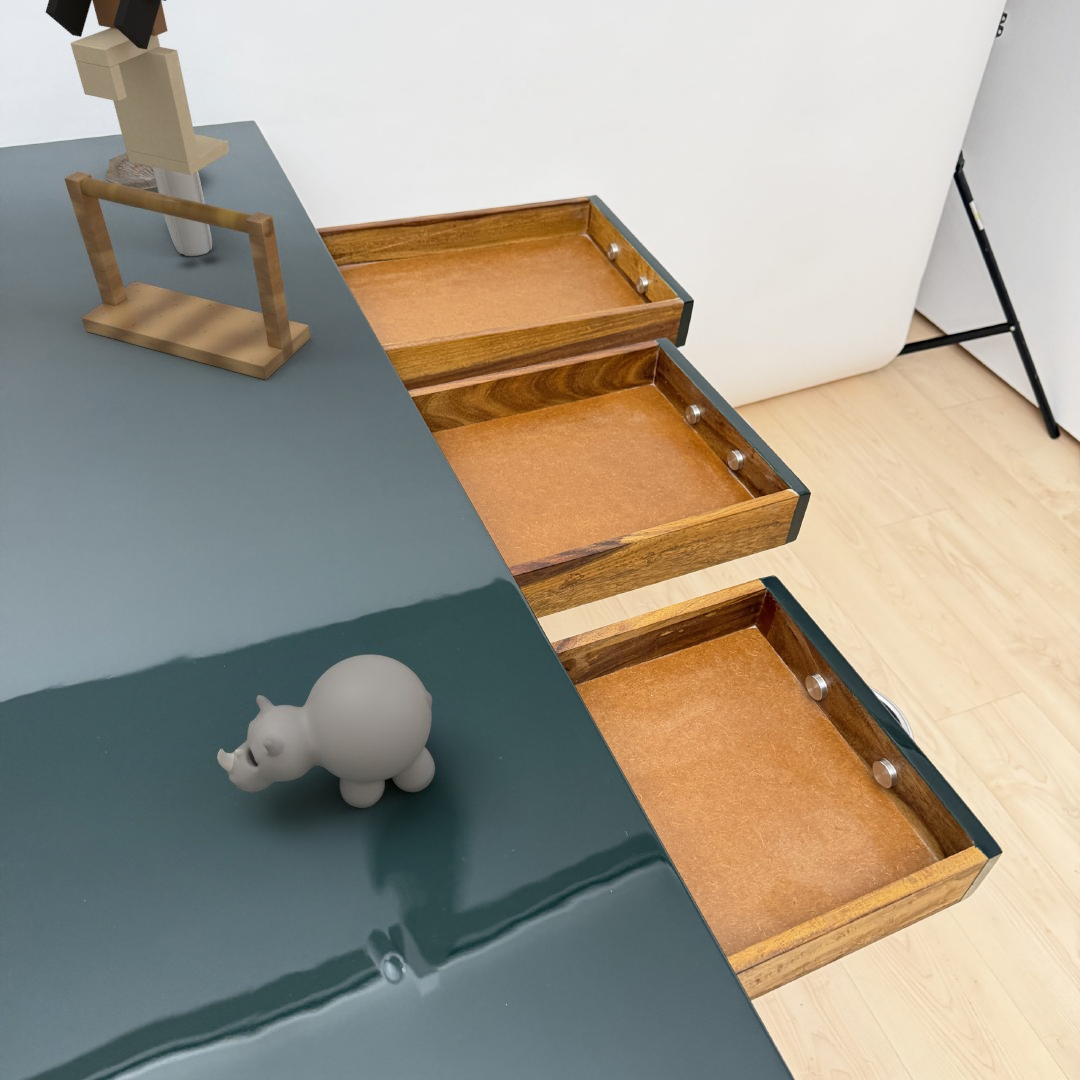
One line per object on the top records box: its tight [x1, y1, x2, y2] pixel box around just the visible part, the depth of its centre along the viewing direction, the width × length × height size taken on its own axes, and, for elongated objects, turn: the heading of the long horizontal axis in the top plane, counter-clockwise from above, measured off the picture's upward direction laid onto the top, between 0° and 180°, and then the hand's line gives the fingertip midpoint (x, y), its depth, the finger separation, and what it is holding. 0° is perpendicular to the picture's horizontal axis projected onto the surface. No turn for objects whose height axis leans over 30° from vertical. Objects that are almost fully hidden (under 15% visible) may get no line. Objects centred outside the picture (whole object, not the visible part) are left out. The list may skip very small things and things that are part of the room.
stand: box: [64, 170, 311, 381], centre depth 83 cm, size 20×8×14 cm, turn 70°
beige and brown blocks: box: [70, 0, 230, 175], centre depth 68 cm, size 6×10×17 cm, turn 160°
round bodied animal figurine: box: [216, 653, 436, 809], centre depth 51 cm, size 7×12×8 cm, turn 109°
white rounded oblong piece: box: [153, 167, 213, 257], centre depth 98 cm, size 10×4×12 cm, turn 25°
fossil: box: [105, 151, 159, 193], centre depth 110 cm, size 10×12×3 cm
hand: (96, 30), depth 64 cm, fingers closed on beige and brown blocks, 5 cm apart
